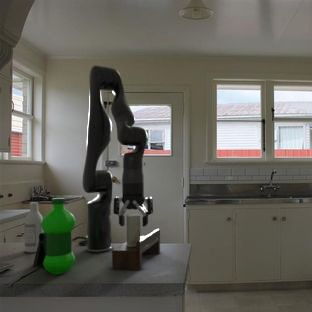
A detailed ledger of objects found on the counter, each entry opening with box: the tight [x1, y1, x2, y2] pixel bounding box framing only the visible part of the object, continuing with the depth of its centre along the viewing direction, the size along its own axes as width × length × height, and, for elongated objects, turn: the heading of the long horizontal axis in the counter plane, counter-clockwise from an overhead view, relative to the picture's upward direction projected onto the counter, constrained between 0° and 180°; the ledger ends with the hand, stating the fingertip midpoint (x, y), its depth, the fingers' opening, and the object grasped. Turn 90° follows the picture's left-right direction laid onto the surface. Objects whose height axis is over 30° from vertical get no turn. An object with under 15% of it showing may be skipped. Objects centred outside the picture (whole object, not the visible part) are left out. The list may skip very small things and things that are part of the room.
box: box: [126, 213, 141, 247], centre depth 133 cm, size 5×4×11 cm
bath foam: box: [24, 201, 44, 253], centre depth 152 cm, size 7×7×20 cm
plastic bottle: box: [42, 197, 76, 275], centre depth 124 cm, size 10×10×25 cm
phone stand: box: [32, 232, 46, 268], centre depth 132 cm, size 9×6×12 cm, turn 67°
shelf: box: [111, 228, 161, 271], centre depth 137 cm, size 10×22×10 cm, turn 174°
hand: (133, 226), depth 133 cm, fingers open, 8 cm apart
